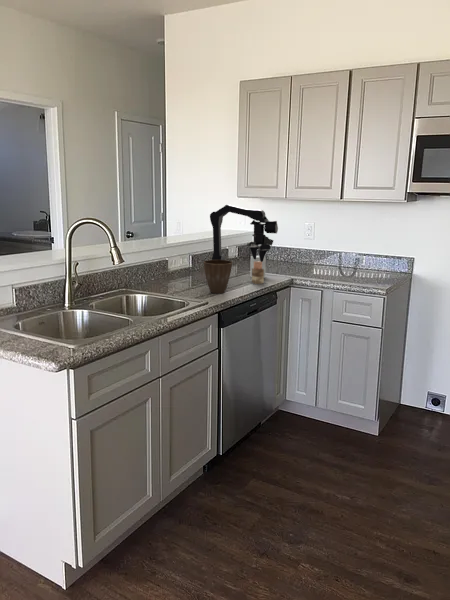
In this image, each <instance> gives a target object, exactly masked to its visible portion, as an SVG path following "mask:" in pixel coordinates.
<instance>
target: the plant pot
mask: <svg viewBox="0 0 450 600" xmlns="http://www.w3.org/2000/svg"><path fill="white" fill-rule="evenodd" d="M232 267H233V261H231V260H226V259H225V260H212V259H207V260H204V261H203V269H204V274H205V279H206V283H207V286H208V289H209V291H210V293H211V292H212V294H223V293H225V291H226V289H227V287H228V285H229V281H230V276H231V274H232V273H231V272H232V269H233V268H232Z"/></svg>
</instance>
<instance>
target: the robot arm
mask: <svg viewBox="0 0 450 600" xmlns="http://www.w3.org/2000/svg"><path fill="white" fill-rule="evenodd" d="M228 213H232V214H237V215H241V216H245V217H248V218H250V219H251V220H252V221H251V222H250V223H249V224H250V225H253V233H252V236H251V237H253V240H249V241H247V244H246V246H247V248H248V250H249V251H250V254H251V256H253V258H254V259H256V256H259V257H260V261H261V262H263V259H264V257H266V253H267V252H269V251H270V250H271V246H273V243H274V240H273V239H270V238H269V236H266V235H265V233H266V234H278V230H279V226H278V220H272V221H271V220H269V219H268V218H267V216H266V212H265V211H264V209H263V210H262V209H249V208H244V207H240V206H236V205H231V204H226V205H224V206H223V207H221V208H219V209H218V210H215V211H212V212H211V213H210V214H209V220H210V221H209V222H210V224H211V226H212V236H213V238H212V239H213V242H212V243H213V244H212V245H213V247H212V248H213V253H212V255H211V260H226V258H225V257H226V254H224V253H223V251H222V228H221V227H222V225H223V219H224V217H225V216H226V215H228ZM257 254H258V255H257Z"/></svg>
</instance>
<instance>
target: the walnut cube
mask: <svg viewBox="0 0 450 600" xmlns="http://www.w3.org/2000/svg"><path fill="white" fill-rule="evenodd" d="M252 276H255V277H261V276H264V269H260V270H256V269H254V268H252Z"/></svg>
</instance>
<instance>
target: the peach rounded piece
mask: <svg viewBox="0 0 450 600" xmlns="http://www.w3.org/2000/svg"><path fill="white" fill-rule="evenodd" d="M254 269H256V270H260V269H262V262H261V261H254Z"/></svg>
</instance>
